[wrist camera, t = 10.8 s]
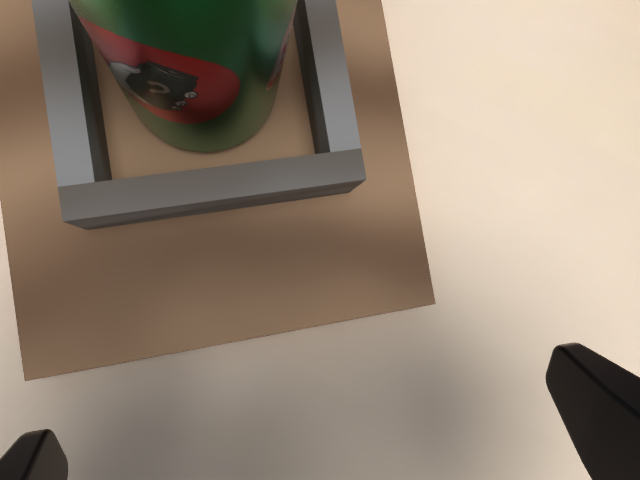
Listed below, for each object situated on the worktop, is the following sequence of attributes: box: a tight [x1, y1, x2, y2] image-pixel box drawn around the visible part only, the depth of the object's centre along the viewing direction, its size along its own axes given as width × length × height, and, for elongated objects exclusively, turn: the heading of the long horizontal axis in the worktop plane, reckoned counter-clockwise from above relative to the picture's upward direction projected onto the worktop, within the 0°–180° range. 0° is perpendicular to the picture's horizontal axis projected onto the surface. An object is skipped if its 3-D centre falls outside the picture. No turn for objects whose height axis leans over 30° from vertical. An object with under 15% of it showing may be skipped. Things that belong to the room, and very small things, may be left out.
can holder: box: [0, 0, 435, 381], centre depth 17 cm, size 18×14×4 cm
